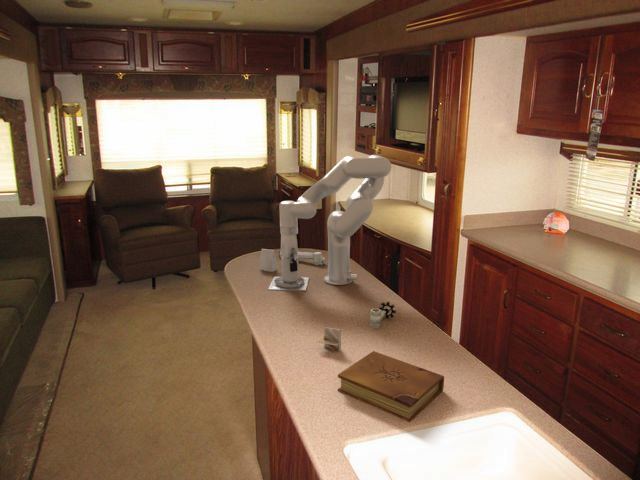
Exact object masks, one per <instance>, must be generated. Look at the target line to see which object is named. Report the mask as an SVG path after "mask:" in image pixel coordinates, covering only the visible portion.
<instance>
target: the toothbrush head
mask: <svg viewBox="0 0 640 480" xmlns="http://www.w3.org/2000/svg"><path fill="white" fill-rule="evenodd" d="M277 255H278V258H279V259H281V257H282V256H283V254H282V253H281V250H280V251H279V252H278V254H277ZM297 257H298V260H312V263H313V265H315V266H319V265H320V266H323V265H324V264H325V261H326V259H325V257H323V253H322V252H321V251H320V252H319V251H316V252H306V251H305V252H304V251H303V252H302V251H298V254H297Z"/></svg>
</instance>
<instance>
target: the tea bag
mask: <svg viewBox="0 0 640 480" xmlns="http://www.w3.org/2000/svg"><path fill="white" fill-rule="evenodd" d="M259 270H260V271H263V270H264V272H271V273H273V272H275V271H276V270H277V255H276V253H275V249H267V248H261V251H260V256H259Z"/></svg>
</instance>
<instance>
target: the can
mask: <svg viewBox="0 0 640 480" xmlns="http://www.w3.org/2000/svg"><path fill="white" fill-rule="evenodd" d="M291 256H292V255H291ZM292 259H293V258H292ZM280 260H281V261H280V262H281V263H280V268H281V270H280V273H281V275H280V277H281V279H282V280H283V281H284V282H287V283H293V282H296V281H297V280H298V277H299V259H298V257H297V269H298V270H297V271H294V272H290V263H291V262H290V258H289V257H288V258H287V257H285V256H284V255H283V256H282V257H281V258H280Z"/></svg>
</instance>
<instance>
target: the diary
mask: <svg viewBox="0 0 640 480" xmlns="http://www.w3.org/2000/svg"><path fill="white" fill-rule="evenodd" d="M337 378H338V379H340V387H339V388H337V392H340V393H342V394H344V395H347V396H348V397H350V398H353V399H356V400H358V401H361V402H362V403H364V404H367V405H369V406H372V407H374V408H377V409H379V410H381V411H384V412H385V413H388V414H390V415H392V416H395V417H397V418H399V419H401V420H403V421H406V422H409V423H410V422H412V421H413V420H414V419H415V418H416V417H417V416H418V415H420V413H421V412H423V411H424V410H425V409H426V408H427V407H428V406H429V405H430V404H431V403H432V402H433V401H434V400H436V398H438V397H439V396H440V395H441V394H442V393H443V392H444V385H445V376H444V375H442V374H439V373H436V372H433V371H430V370H428V369H425V368H422V367H419V366H417V365H414V364H411V363H408V362H406V361H403V360H401V359H397V358H394V357H392V356H388V355H386V354H383V353H380V352H377V351H374V350H373V351H371V352H369V353H368V354H367V355H365V356H364V357H362V358H361V359H358V361H356V362H354V363H353V364H352V365H350V366H348V367H347V368H345V369H344V370H342V371H341V372H339V373H338V374H337Z"/></svg>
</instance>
